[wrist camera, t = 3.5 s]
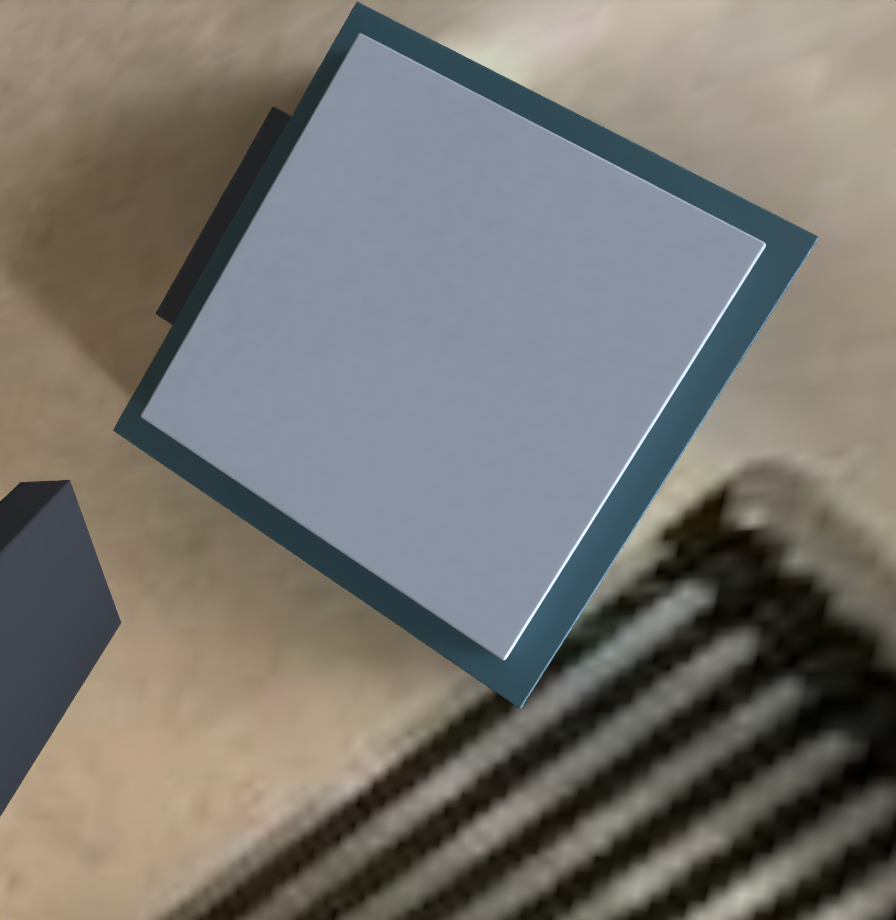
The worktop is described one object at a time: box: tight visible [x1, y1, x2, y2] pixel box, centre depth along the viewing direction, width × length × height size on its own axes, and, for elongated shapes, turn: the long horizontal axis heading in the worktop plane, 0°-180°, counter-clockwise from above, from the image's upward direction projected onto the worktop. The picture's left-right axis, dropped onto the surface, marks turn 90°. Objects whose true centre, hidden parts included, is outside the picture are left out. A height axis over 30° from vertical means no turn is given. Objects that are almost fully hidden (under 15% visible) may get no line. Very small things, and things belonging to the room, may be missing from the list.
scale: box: [113, 2, 819, 708], centre depth 21 cm, size 15×14×4 cm
